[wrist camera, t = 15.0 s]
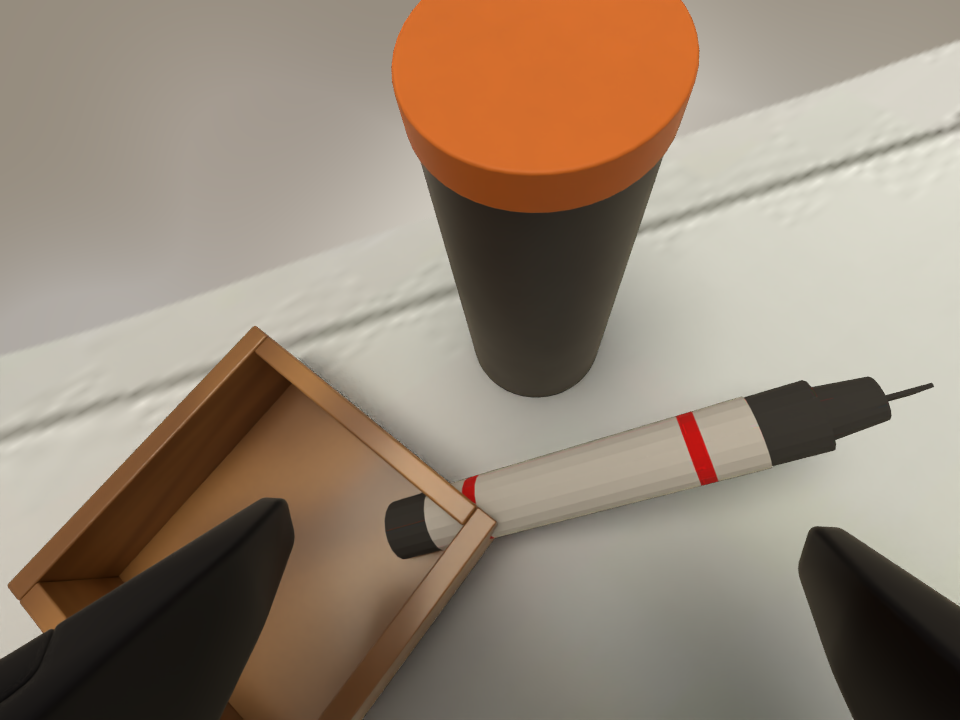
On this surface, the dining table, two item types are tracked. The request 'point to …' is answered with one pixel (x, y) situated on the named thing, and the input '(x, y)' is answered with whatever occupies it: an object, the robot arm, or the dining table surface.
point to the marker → (651, 461)
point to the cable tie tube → (541, 161)
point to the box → (316, 521)
